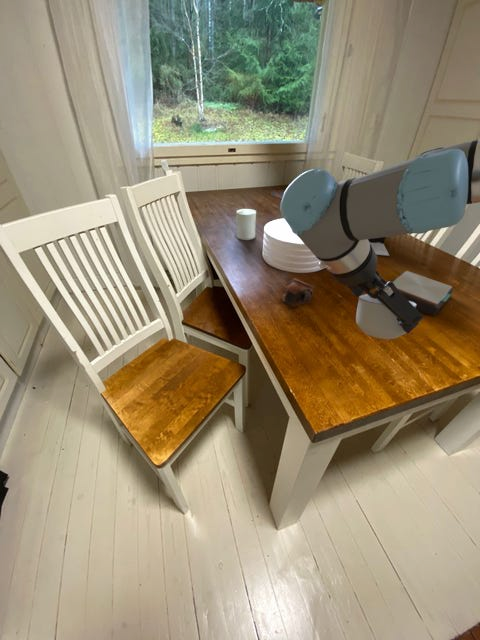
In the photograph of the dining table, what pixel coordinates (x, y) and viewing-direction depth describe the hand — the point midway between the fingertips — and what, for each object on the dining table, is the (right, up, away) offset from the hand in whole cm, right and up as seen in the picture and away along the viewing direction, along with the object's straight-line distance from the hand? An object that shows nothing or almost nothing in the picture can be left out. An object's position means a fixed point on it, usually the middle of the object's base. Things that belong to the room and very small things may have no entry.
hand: (384, 308), depth 59 cm
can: (-28, +38, +73) cm, 87 cm away
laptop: (+24, +29, +63) cm, 73 cm away
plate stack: (-8, +24, +56) cm, 62 cm away
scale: (+28, +6, +33) cm, 44 cm away
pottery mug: (-12, +3, +30) cm, 33 cm away
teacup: (-1, -5, +2) cm, 6 cm away
